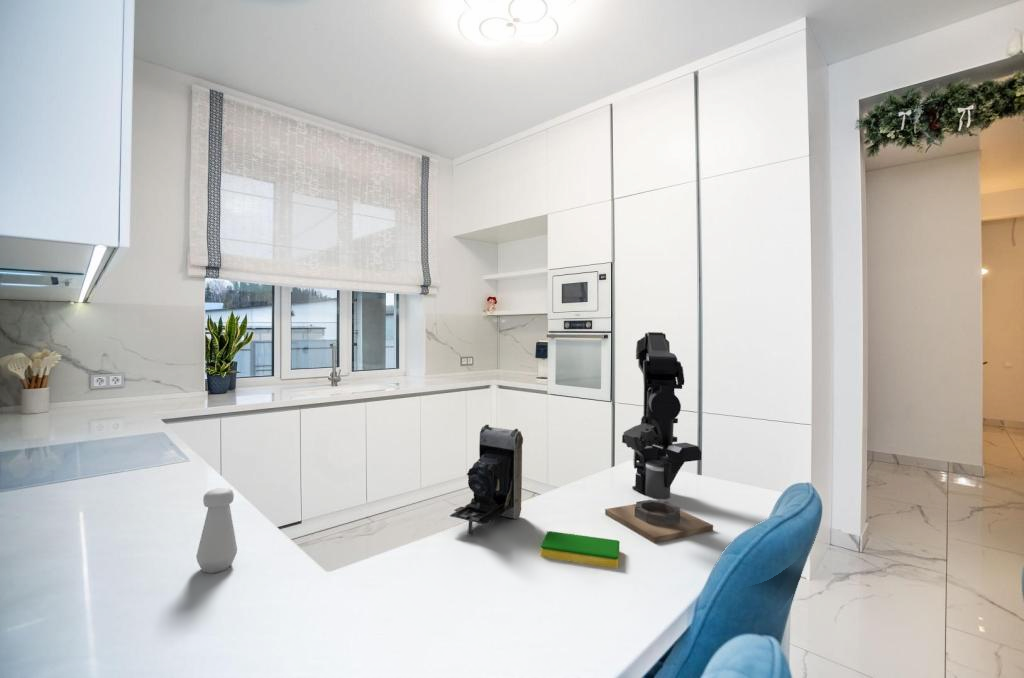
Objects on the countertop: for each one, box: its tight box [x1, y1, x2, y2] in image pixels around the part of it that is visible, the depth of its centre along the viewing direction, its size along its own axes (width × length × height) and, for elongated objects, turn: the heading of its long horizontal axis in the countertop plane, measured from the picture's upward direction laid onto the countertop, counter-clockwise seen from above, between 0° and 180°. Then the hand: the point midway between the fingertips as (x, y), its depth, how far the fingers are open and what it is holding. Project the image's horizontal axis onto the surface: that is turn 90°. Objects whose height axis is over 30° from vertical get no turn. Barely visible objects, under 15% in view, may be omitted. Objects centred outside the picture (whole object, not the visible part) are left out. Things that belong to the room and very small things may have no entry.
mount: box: [604, 499, 714, 544], centre depth 103 cm, size 16×16×3 cm
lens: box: [644, 460, 671, 500], centre depth 103 cm, size 5×5×7 cm
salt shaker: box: [195, 487, 238, 574], centre depth 78 cm, size 6×6×13 cm
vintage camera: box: [449, 424, 524, 536], centre depth 99 cm, size 10×16×20 cm, turn 152°
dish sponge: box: [540, 530, 621, 569], centre depth 87 cm, size 7×14×2 cm, turn 75°
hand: (658, 483), depth 103 cm, fingers closed on lens, 5 cm apart
